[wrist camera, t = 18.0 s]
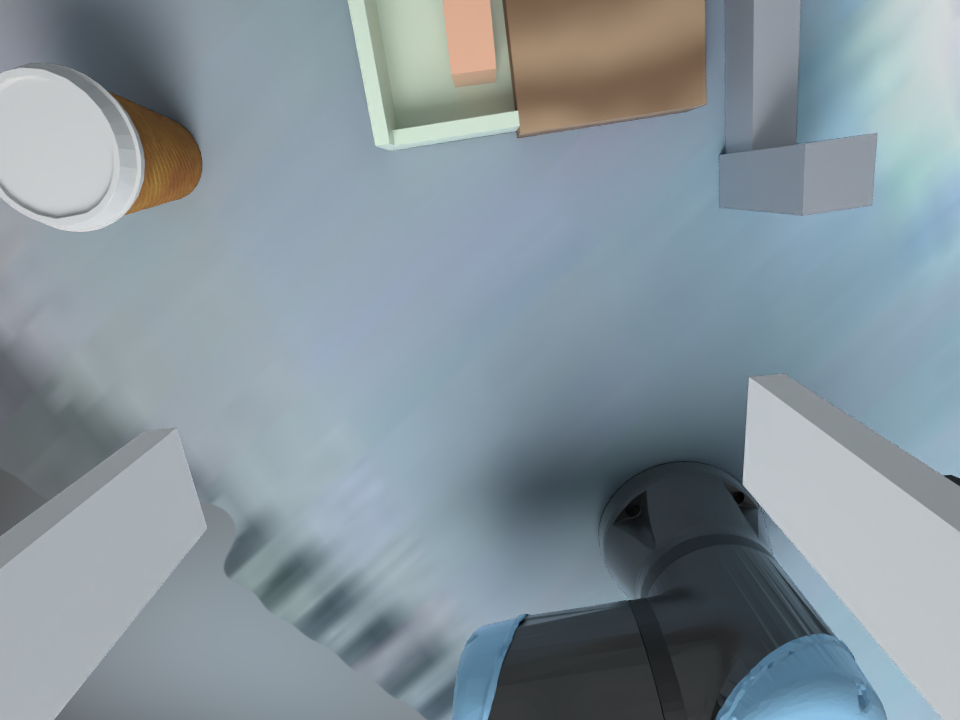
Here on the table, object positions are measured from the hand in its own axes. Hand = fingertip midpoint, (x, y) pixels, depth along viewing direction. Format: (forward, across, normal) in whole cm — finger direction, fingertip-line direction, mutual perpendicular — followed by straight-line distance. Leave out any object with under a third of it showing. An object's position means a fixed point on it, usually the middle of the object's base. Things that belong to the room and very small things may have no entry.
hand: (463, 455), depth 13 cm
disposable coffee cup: (+34, +24, -10) cm, 43 cm away
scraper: (+34, -21, -14) cm, 43 cm away
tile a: (+31, -2, -15) cm, 35 cm away
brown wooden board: (+34, -10, -18) cm, 40 cm away
